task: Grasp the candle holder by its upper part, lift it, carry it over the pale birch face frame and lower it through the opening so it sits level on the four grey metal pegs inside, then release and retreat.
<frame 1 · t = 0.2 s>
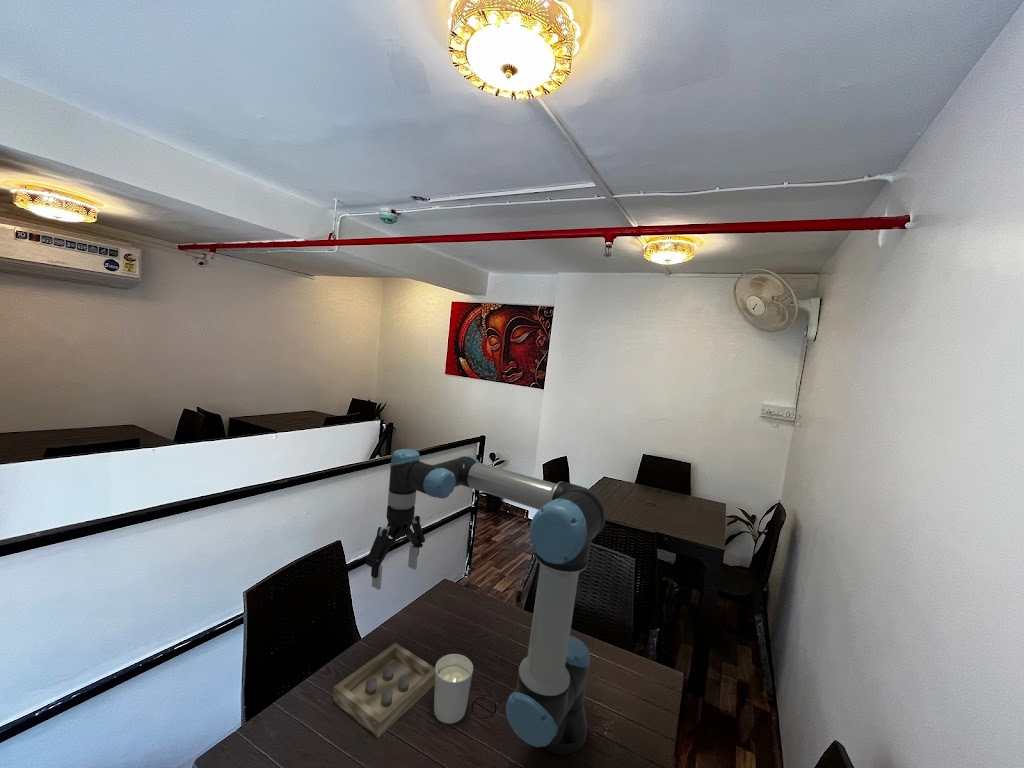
hand: (395, 577, 120), 28 cm above the table, fingers open, 13 cm apart
candle holder: (449, 710, 110), on the table
peg frame: (386, 691, 114), on the table
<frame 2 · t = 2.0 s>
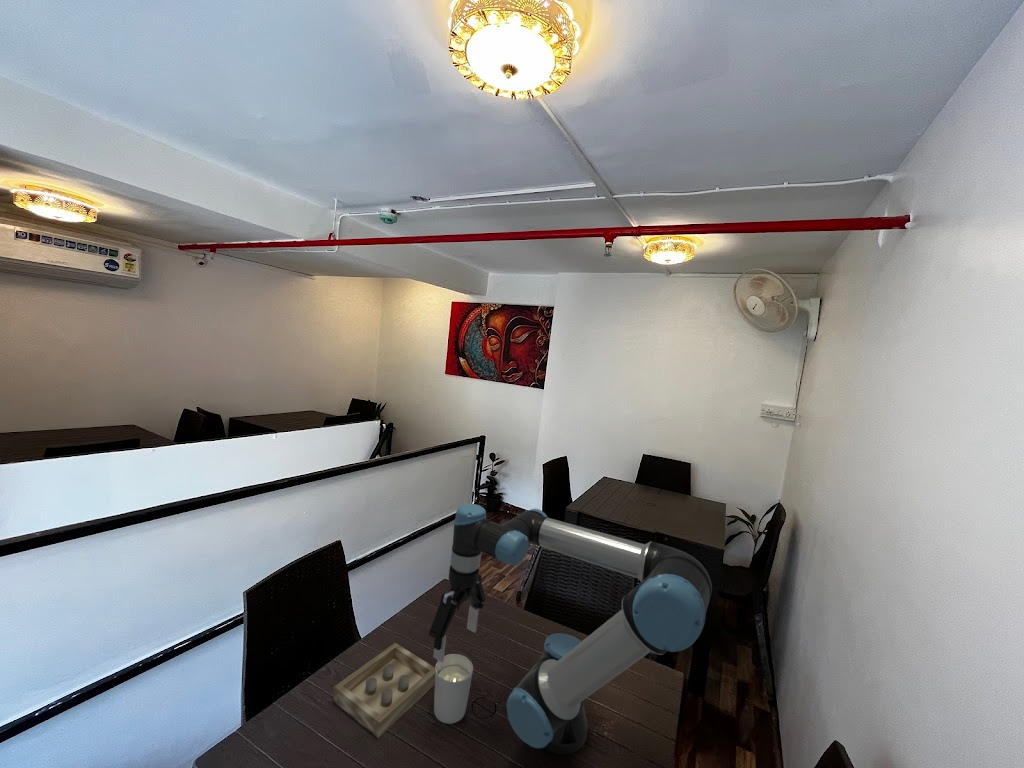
hand: (455, 644, 109), 18 cm above the table, fingers open, 13 cm apart
nothing on the table moved.
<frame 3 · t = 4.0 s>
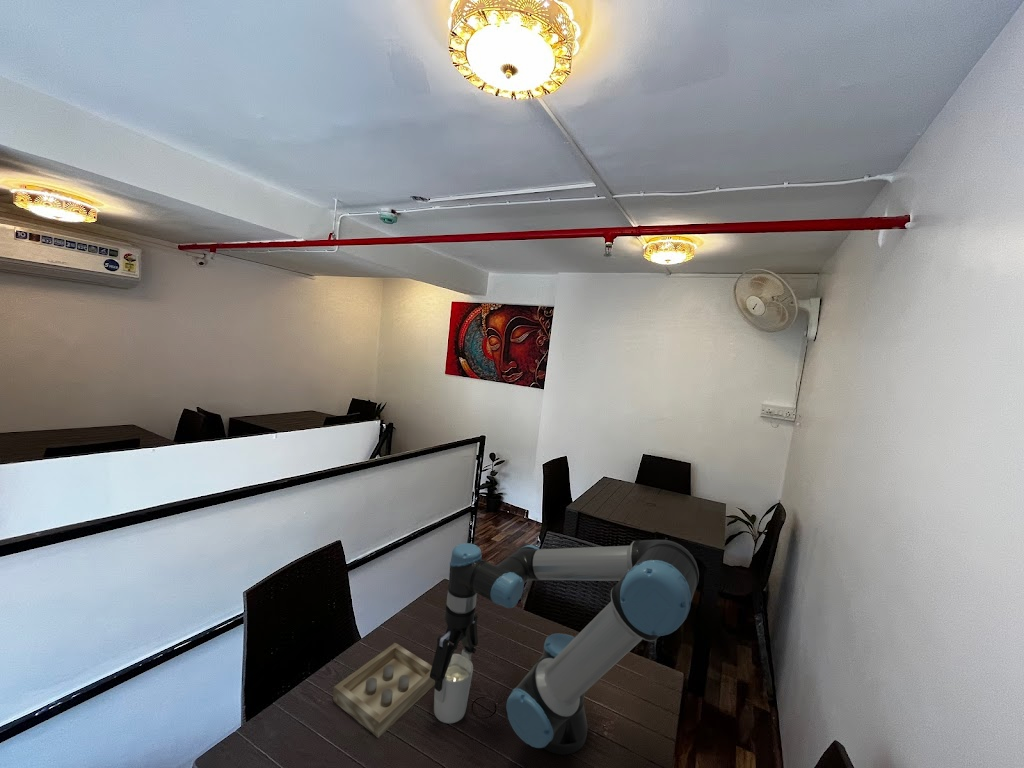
hand: (452, 686, 110), 7 cm above the table, fingers closed on candle holder, 9 cm apart
candle holder: (449, 710, 110), on the table, touching gripper
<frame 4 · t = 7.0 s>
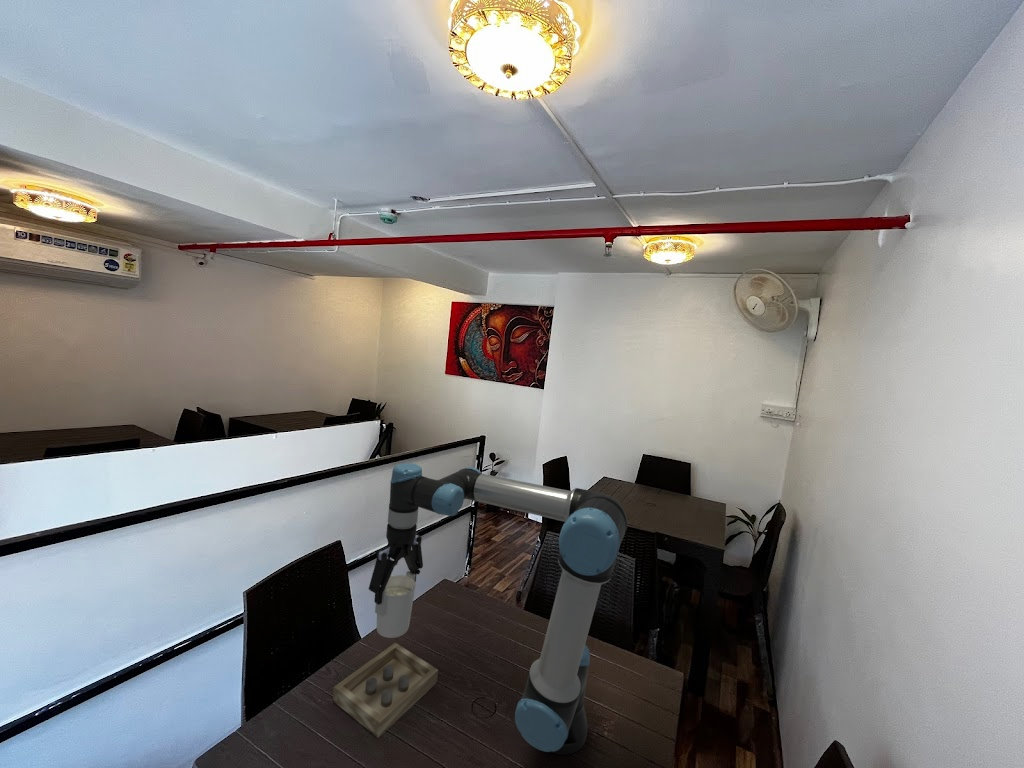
hand: (394, 604, 112), 25 cm above the table, fingers closed on candle holder, 9 cm apart
candle holder: (392, 628, 112), point 18 cm above the table, touching gripper
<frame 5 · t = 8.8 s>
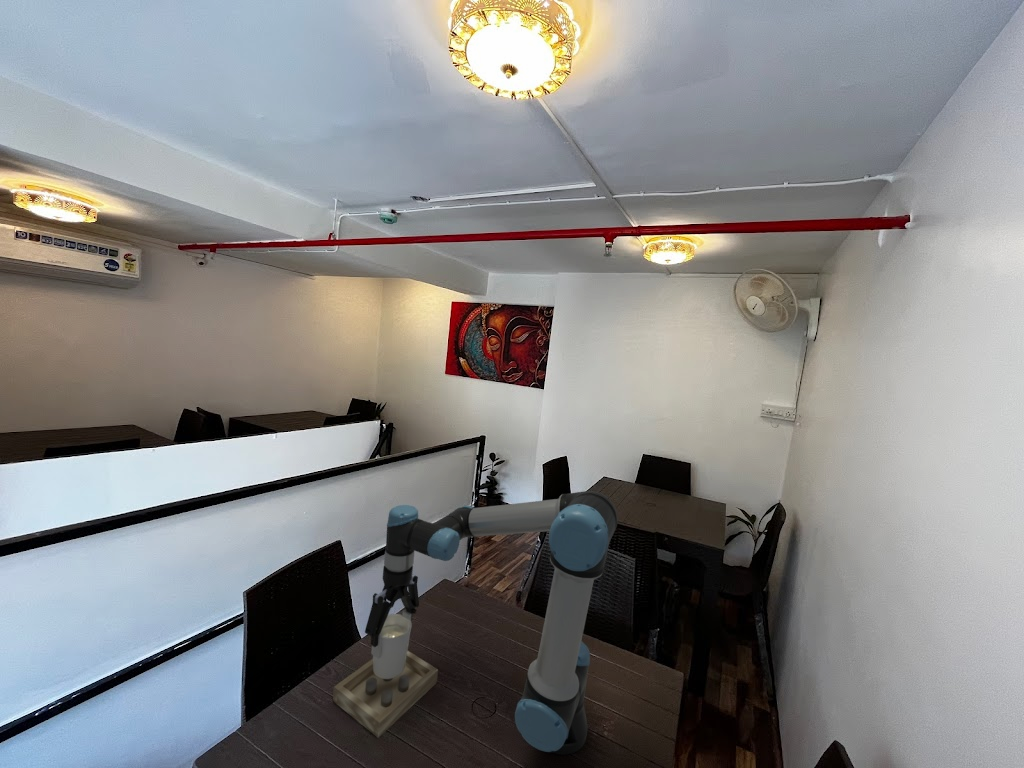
hand: (391, 644, 113), 14 cm above the table, fingers closed on candle holder, 9 cm apart
candle holder: (388, 668, 113), point 7 cm above the table, touching gripper
when the fingers open (11 cm above the table, at t = 10.4 s): candle holder stays where it is, resting on peg frame.
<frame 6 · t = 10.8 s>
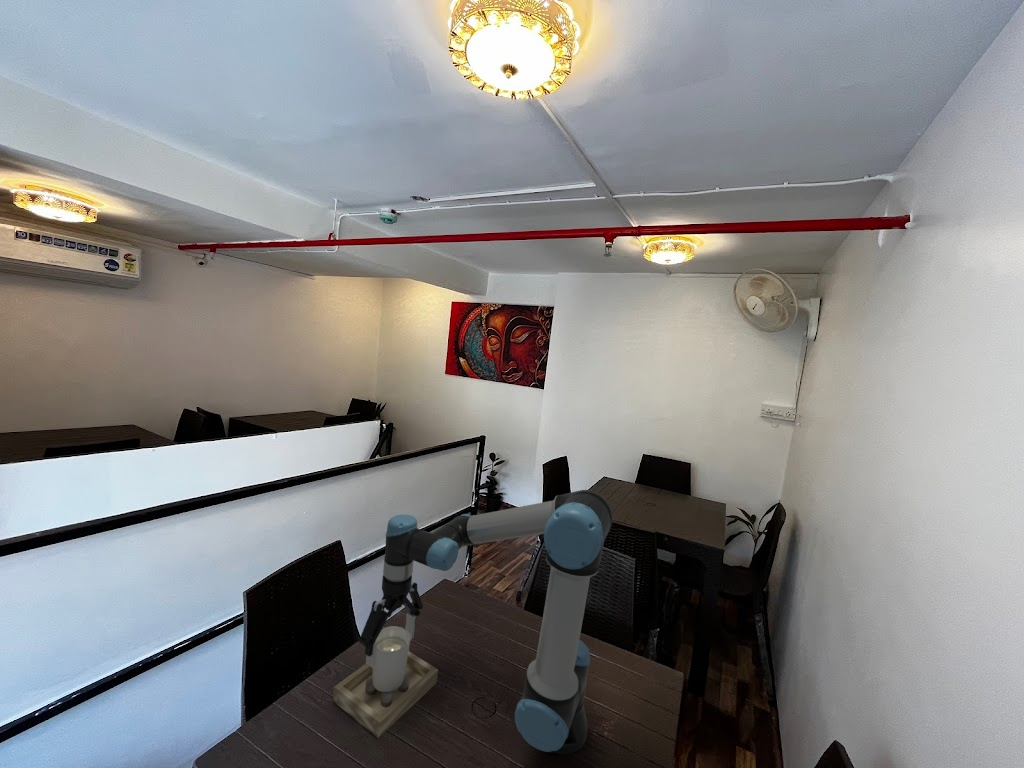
hand: (390, 650, 113), 12 cm above the table, fingers open, 13 cm apart
candle holder: (388, 680, 114), point 3 cm above the table, touching peg frame
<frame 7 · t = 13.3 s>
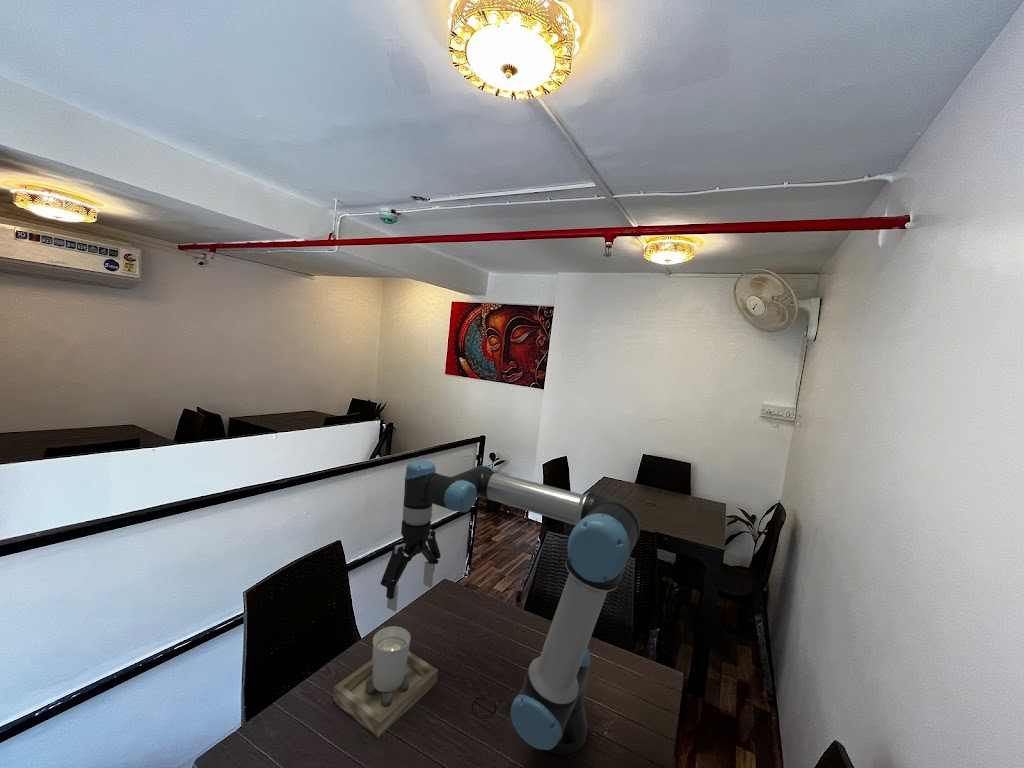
hand: (410, 596, 113), 27 cm above the table, fingers open, 13 cm apart
nothing on the table moved.
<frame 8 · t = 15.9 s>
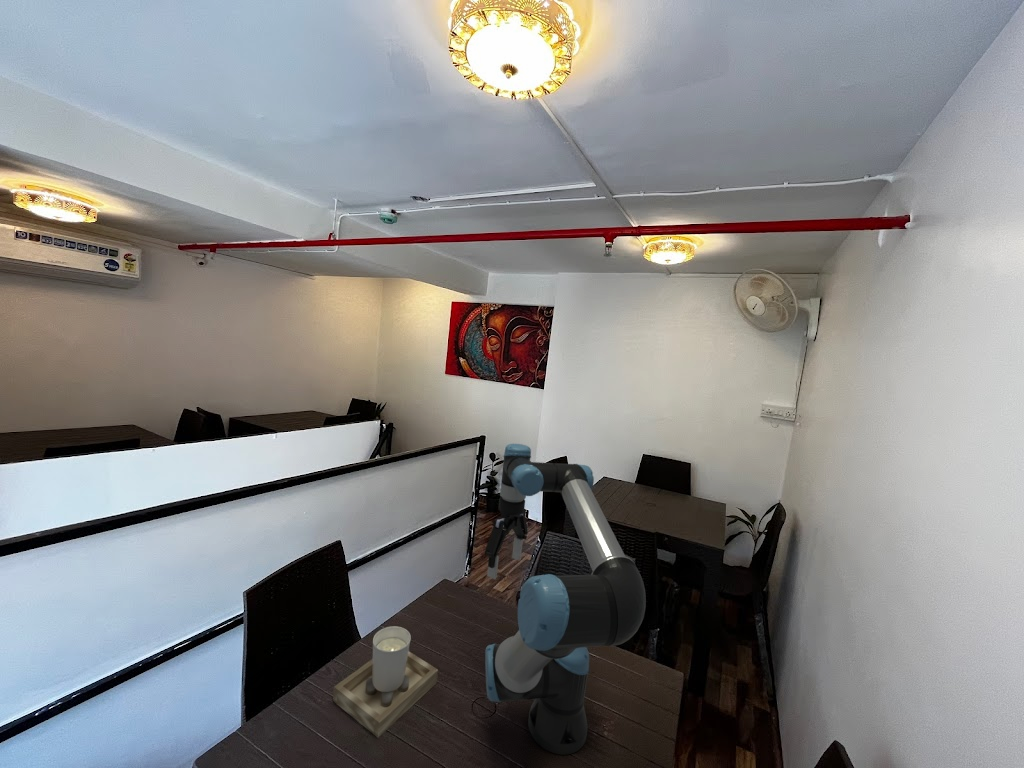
hand: (504, 567, 123), 32 cm above the table, fingers open, 13 cm apart
nothing on the table moved.
at the end: candle holder inside the target area on the peg frame (0.1 cm from its centre), point 3.1 cm above the peg frame's base; candle holder tilted 0°; the gripper is holding nothing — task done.
